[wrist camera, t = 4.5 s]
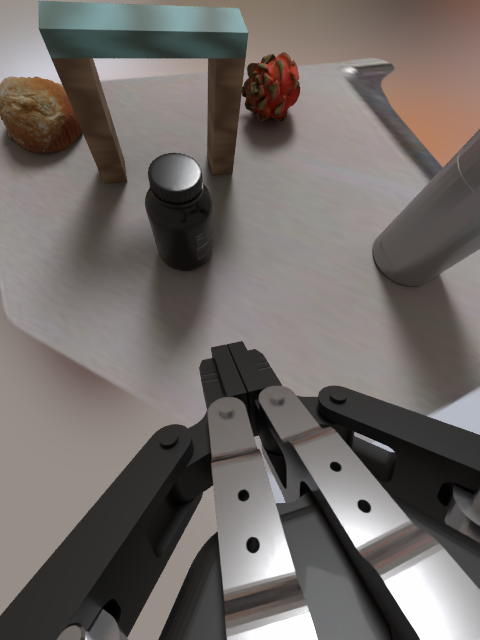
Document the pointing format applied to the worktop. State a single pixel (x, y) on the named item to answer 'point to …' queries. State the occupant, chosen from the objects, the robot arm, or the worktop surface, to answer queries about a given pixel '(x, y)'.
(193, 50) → the gate
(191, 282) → the worktop surface
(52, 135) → the bread roll
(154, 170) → the supplement bottle
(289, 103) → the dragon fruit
